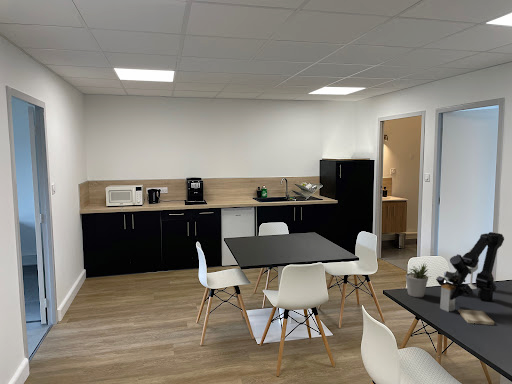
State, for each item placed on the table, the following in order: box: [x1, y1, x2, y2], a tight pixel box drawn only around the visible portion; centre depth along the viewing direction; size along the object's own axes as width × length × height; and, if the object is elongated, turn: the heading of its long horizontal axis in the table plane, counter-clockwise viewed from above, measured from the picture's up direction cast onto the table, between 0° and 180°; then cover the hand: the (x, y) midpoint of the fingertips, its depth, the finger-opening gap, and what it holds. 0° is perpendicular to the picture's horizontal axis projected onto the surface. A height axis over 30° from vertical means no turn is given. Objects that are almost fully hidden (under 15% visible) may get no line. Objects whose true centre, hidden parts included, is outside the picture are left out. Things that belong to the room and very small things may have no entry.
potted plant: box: [405, 261, 432, 298], centre depth 231 cm, size 13×14×20 cm
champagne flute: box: [467, 248, 479, 290], centre depth 247 cm, size 7×7×24 cm
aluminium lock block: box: [439, 284, 456, 313], centre depth 210 cm, size 5×5×13 cm
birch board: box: [457, 309, 495, 326], centre depth 199 cm, size 12×14×2 cm
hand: (446, 297), depth 210 cm, fingers closed on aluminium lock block, 5 cm apart
